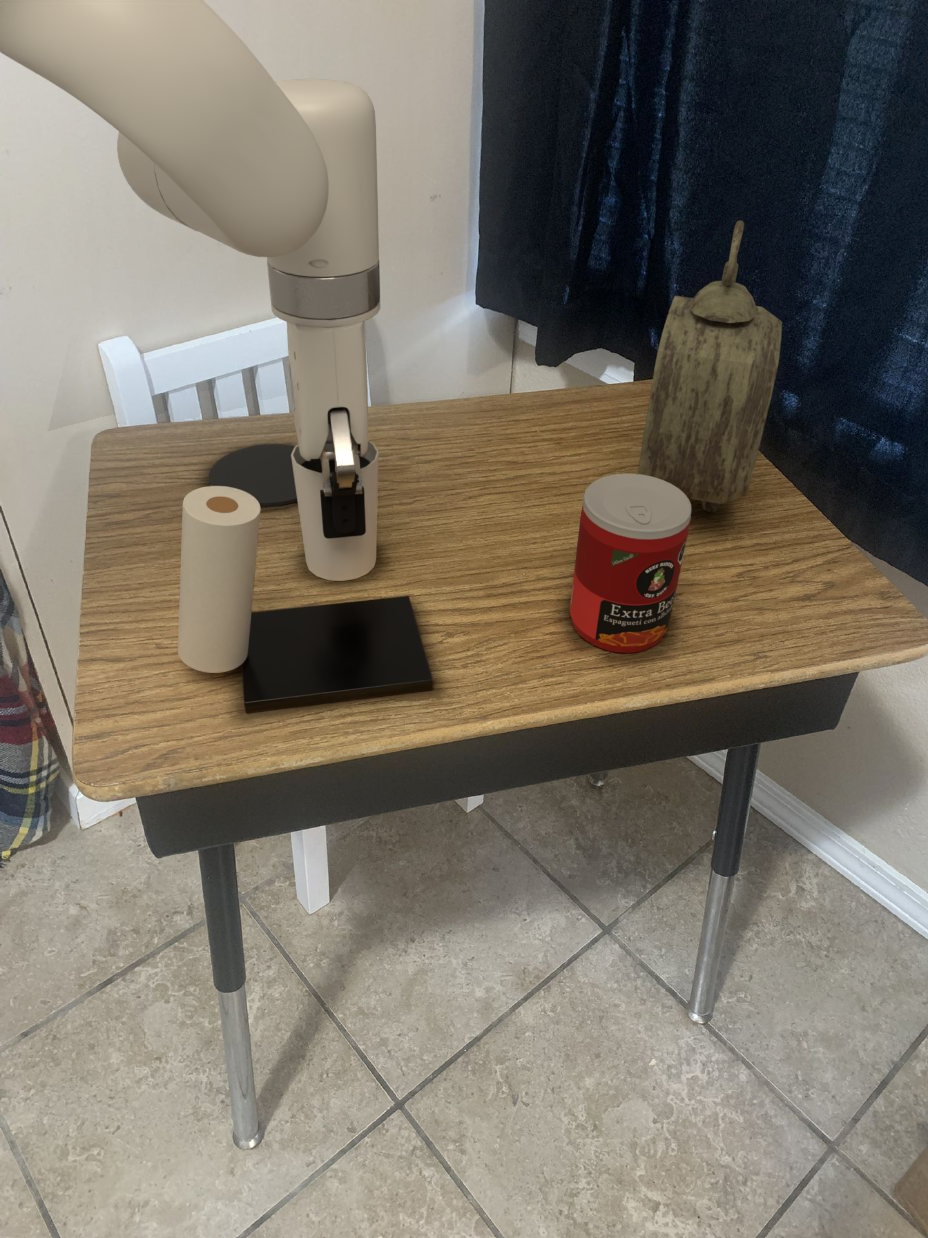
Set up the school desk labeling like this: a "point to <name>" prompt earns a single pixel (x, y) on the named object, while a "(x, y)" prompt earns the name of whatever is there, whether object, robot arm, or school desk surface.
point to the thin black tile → (333, 654)
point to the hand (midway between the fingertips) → (338, 504)
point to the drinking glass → (321, 554)
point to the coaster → (258, 473)
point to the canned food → (628, 561)
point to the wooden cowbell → (711, 390)
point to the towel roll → (217, 577)
